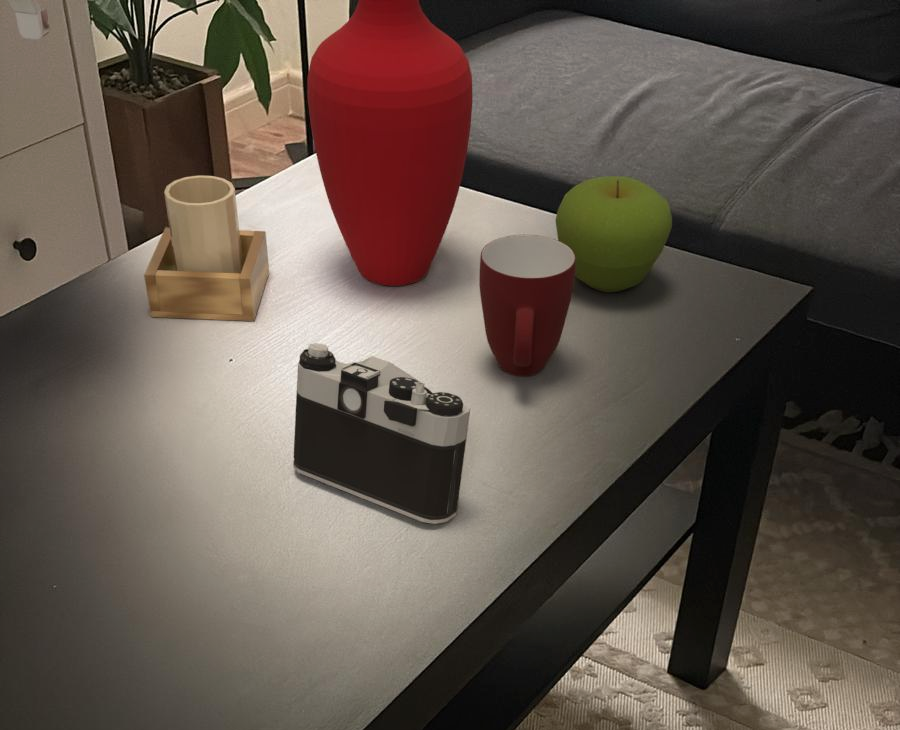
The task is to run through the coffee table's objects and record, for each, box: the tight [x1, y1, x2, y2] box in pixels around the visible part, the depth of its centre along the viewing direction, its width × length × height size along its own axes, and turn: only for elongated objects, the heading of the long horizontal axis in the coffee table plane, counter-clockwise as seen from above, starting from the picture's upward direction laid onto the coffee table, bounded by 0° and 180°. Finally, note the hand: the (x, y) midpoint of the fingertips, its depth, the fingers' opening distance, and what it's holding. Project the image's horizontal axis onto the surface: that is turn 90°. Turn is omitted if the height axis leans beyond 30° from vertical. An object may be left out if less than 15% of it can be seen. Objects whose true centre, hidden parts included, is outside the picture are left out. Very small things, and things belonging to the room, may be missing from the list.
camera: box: [292, 342, 471, 525], centre depth 100 cm, size 15×11×10 cm
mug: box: [478, 234, 576, 377], centre depth 110 cm, size 11×8×10 cm
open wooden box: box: [143, 227, 270, 322], centre depth 121 cm, size 10×10×4 cm
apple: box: [555, 175, 673, 294], centre depth 121 cm, size 11×10×10 cm
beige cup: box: [163, 174, 243, 274], centre depth 119 cm, size 6×6×9 cm
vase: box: [306, 0, 473, 287], centre depth 115 cm, size 15×15×30 cm
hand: (64, 16), depth 98 cm, fingers open, 8 cm apart
